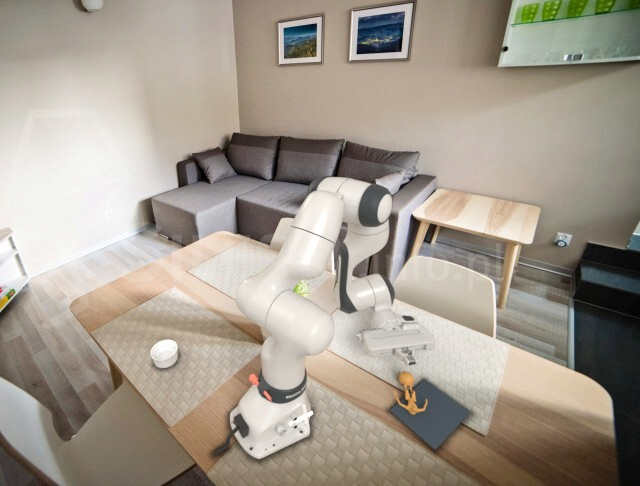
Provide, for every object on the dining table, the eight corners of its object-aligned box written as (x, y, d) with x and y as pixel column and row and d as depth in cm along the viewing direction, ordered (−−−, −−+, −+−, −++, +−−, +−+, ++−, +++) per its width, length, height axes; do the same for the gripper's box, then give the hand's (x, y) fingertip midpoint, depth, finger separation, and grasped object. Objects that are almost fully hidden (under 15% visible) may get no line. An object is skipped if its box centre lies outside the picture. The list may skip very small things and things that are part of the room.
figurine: (421, 372, 93) (435, 401, 82) (417, 390, 94) (430, 422, 83) (390, 365, 95) (400, 393, 83) (387, 383, 96) (395, 413, 85)
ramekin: (147, 366, 106) (144, 356, 105) (162, 346, 114) (159, 336, 112) (170, 372, 103) (168, 363, 101) (184, 351, 111) (182, 342, 109)
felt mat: (434, 450, 77) (435, 449, 77) (389, 411, 87) (389, 409, 87) (469, 413, 85) (470, 411, 84) (424, 380, 94) (424, 379, 94)
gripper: (356, 323, 100) (376, 359, 88) (420, 315, 101) (449, 350, 89) (354, 338, 103) (374, 376, 91) (417, 331, 104) (445, 367, 91)
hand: (412, 363), depth 90 cm, fingers closed
